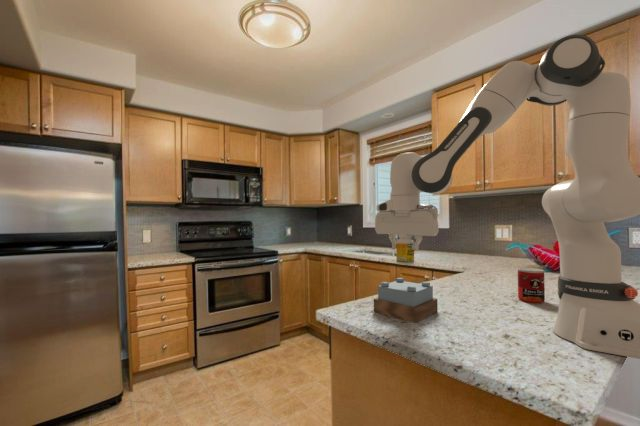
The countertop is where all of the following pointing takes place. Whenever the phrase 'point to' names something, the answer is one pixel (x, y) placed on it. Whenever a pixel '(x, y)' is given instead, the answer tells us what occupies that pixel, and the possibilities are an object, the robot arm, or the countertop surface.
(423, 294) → the top brick
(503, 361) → the countertop surface
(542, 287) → the canned food
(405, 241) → the supplement bottle
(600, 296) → the robot arm
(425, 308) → the base brick
